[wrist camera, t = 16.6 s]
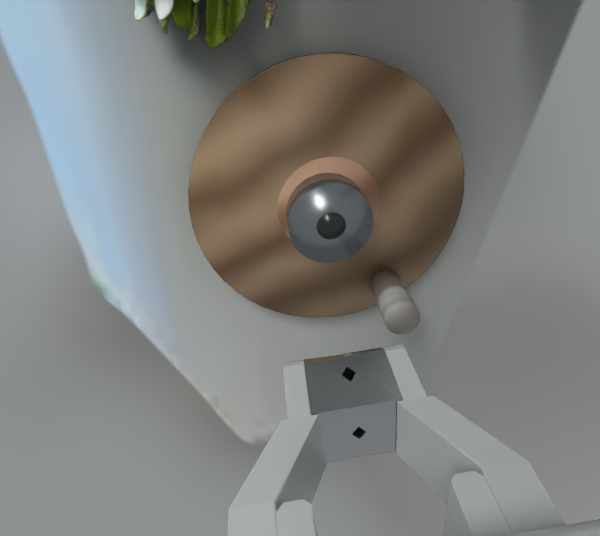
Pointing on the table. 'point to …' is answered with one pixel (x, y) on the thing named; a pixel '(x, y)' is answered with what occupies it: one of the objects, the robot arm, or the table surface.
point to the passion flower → (186, 12)
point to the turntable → (327, 159)
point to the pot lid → (328, 218)
